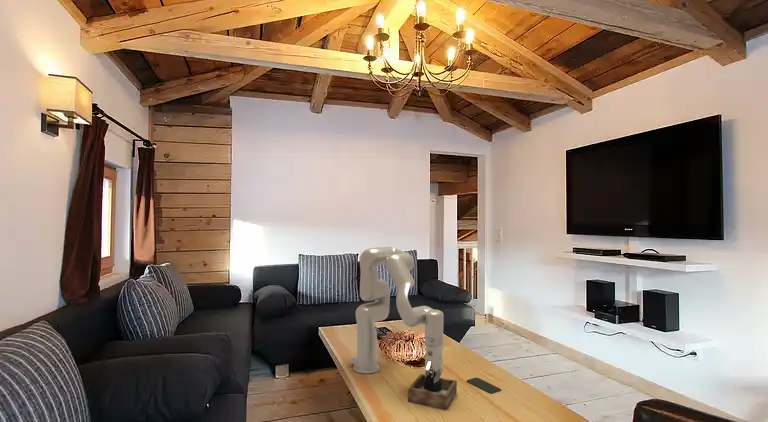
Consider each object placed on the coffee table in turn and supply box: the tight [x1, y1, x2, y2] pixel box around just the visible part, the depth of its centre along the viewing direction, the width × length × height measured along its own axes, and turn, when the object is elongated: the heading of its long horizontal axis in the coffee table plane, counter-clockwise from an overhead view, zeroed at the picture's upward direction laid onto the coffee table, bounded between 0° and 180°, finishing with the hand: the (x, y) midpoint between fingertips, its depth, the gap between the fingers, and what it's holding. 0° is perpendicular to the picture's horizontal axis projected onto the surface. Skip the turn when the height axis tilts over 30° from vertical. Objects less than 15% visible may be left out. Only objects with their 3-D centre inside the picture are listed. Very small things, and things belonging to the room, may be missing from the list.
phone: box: [466, 377, 502, 395], centre depth 185 cm, size 7×1×15 cm
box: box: [407, 373, 458, 411], centre depth 172 cm, size 16×16×6 cm
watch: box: [424, 366, 443, 392], centre depth 172 cm, size 6×8×11 cm
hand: (432, 382), depth 172 cm, fingers closed on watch, 8 cm apart
